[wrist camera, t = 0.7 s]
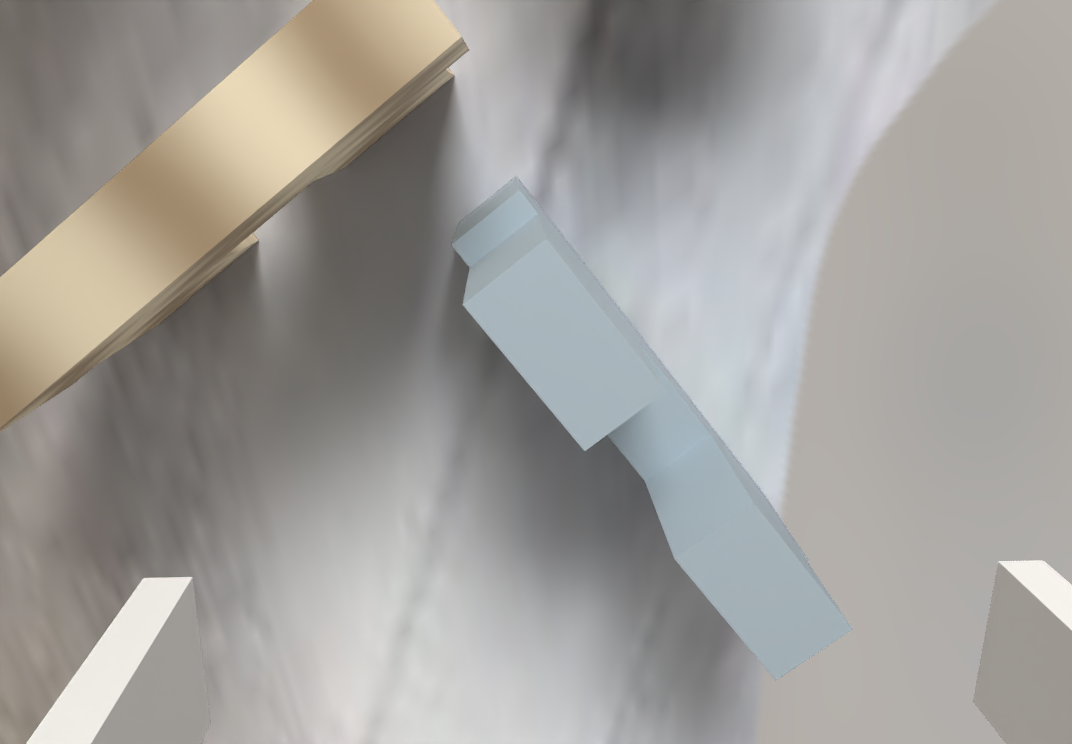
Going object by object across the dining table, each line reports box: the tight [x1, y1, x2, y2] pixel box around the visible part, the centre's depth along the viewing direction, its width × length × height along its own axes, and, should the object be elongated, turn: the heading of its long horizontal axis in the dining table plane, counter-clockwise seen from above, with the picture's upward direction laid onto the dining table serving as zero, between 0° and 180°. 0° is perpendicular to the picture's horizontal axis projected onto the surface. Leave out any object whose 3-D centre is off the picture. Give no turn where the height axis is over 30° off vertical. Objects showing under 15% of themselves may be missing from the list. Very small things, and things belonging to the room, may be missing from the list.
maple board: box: [0, 0, 469, 432], centre depth 30 cm, size 18×3×12 cm, turn 128°
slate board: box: [451, 176, 852, 680], centre depth 33 cm, size 18×3×12 cm, turn 38°
